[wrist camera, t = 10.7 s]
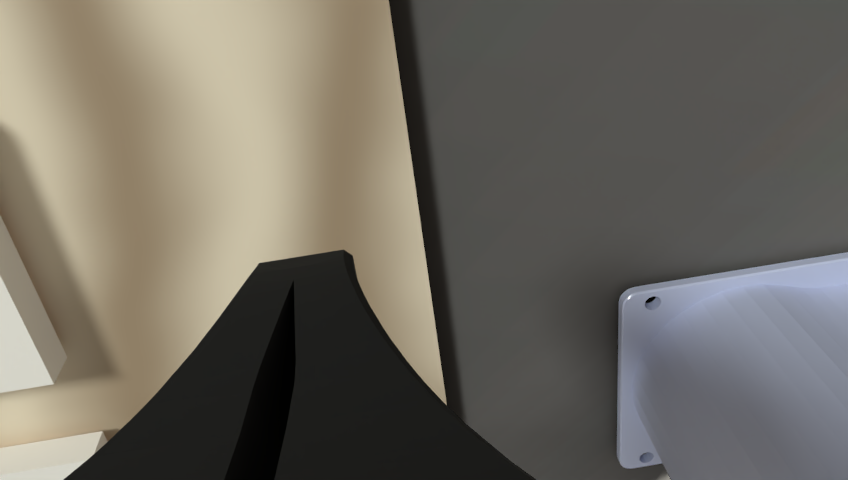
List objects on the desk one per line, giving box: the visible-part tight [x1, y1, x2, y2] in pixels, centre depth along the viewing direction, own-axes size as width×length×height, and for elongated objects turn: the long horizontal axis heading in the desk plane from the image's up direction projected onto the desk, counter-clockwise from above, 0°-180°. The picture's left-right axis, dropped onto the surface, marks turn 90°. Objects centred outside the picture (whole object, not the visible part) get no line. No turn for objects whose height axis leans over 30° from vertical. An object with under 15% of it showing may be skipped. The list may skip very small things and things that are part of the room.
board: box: [0, 0, 447, 448], centre depth 23 cm, size 17×22×1 cm
